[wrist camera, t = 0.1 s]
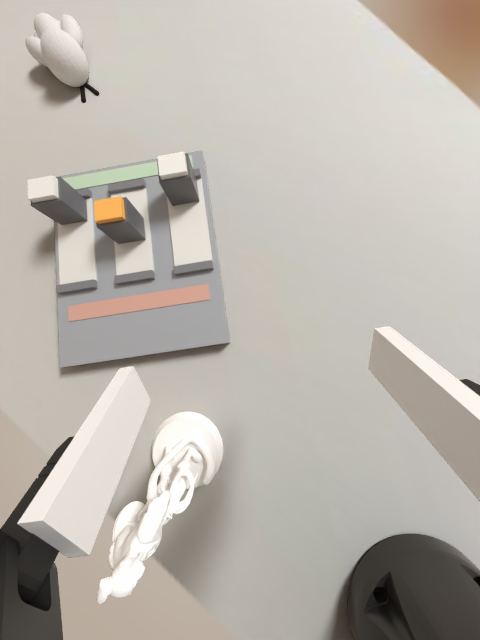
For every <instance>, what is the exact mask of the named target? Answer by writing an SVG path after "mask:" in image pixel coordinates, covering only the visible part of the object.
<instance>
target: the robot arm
mask: <svg viewBox="0 0 480 640" xmlns="http://www.w3.org/2000/svg"><path fill="white" fill-rule="evenodd" d="M368 369H369V370H370V371H371V372H372V373H373V375H374V376H375V377H376V378H377V379H378V381H379V382H380V383H381V384H382V385H383V387H384V388H385V389H386V390H387V391H388V393H389V394H390V395H391V396H392V397H393V399H394V400H395V401H396V402H397V403H398V404H399V406H400V407H401V408H402V409H403V410H404V412H405V413H406V414H407V415H408V416H409V418H410V419H411V420H412V421H413V422H414V424H415V425H416V426H417V427H418V428H419V430H420V431H421V432H422V433H423V434H424V436H425V437H426V438H427V439H428V440H429V442H430V443H431V444H432V445H433V446H434V448H435V449H436V450H437V451H438V452H439V454H440V455H441V456H442V457H443V458H444V460H445V461H446V462H447V463H448V464H449V466H450V467H451V468H452V469H453V470H454V472H455V473H456V474H457V475H458V476H459V478H460V479H461V480H462V481H463V482H464V484H465V485H466V486H467V487H468V488H469V490H470V491H471V492H472V493H473V494H474V495H475V497H476V498H477V499H478V500H479V501H480V385H478V384H476V383H474V382H472V381H470V380H468V379H464V380H458V379H457V378H455V377H454V376H453V375H452V374H450V373H449V372H448V371H446V370H445V369H444V368H443V367H441V366H440V365H439V364H437V363H436V362H435V361H434V360H432V359H431V358H430V357H428V356H427V355H426V354H425V353H423V352H422V351H421V350H419V349H418V348H417V347H416V346H414V345H413V344H412V343H410V342H409V341H408V340H406V339H405V338H404V337H403V336H401V335H400V334H399V333H397V332H396V331H395V330H394V329H392V328H391V327H390V326H387V327H381V328H375V329H374V335H373V342H372V348H371V355H370V361H369V367H368ZM150 402H151V400H150V398H149V396H148V394H147V392H146V390H145V388H144V386H143V384H142V382H141V380H140V378H139V376H138V374H137V372H136V370H135V368H134V366H131V367H124V368H120V369H119V370H118V372H117V373H116V375H115V376H114V378H113V379H112V381H111V382H110V384H109V385H108V387H107V388H106V390H105V391H104V393H103V394H102V396H101V397H100V399H99V400H98V402H97V403H96V405H95V407H94V408H93V410H92V411H91V413H90V414H89V416H88V417H87V419H86V420H85V422H84V423H83V425H82V426H81V428H80V429H79V431H78V432H77V434H76V435H75V436H74V437H69V438H68V439H67V440H66V441H65V442H64V443H63V444H62V445H61V446H60V447H59V448H58V449H57V450H56V451H55V452H54V454H53V455H52V457H51V458H50V459H49V461H48V462H47V465H46V466H45V467H44V468H43V470H42V471H41V472H40V474H39V477H38V478H36V480H35V481H34V482H33V484H32V485H31V487H30V488H29V490H28V491H27V492H26V494H25V495H24V497H23V498H22V499H21V501H20V502H19V504H18V505H17V507H16V508H15V510H14V511H13V512H12V514H11V515H10V517H9V518H8V519H7V521H6V522H5V524H4V525H3V526H2V528H1V529H0V640H63V633H62V621H61V609H60V597H59V586H58V575H57V574H58V573H57V568H56V565H55V563H54V561H55V558H56V556H57V554H58V552H60V553H62V554H63V555H65V556H66V557H68V558H72V557H80V556H87V555H90V553H91V550H92V548H93V545H94V543H95V541H96V538H97V535H98V533H99V530H100V528H101V525H102V523H103V520H104V518H105V515H106V513H107V510H108V508H109V505H110V503H111V500H112V498H113V495H114V493H115V490H116V488H117V485H118V483H119V480H120V477H121V475H122V472H123V470H124V467H125V465H126V462H127V460H128V457H129V455H130V452H131V450H132V447H133V445H134V442H135V440H136V437H137V435H138V432H139V430H140V427H141V425H142V422H143V419H144V417H145V414H146V412H147V409H148V407H149V404H150ZM348 616H349V623H350V627H351V631H352V634H353V637H354V640H480V570H479V569H478V568H477V567H476V566H475V565H474V564H473V563H472V562H471V561H470V560H469V559H468V558H467V557H466V556H464V555H463V554H462V553H461V552H460V551H458V550H457V549H456V548H454V547H453V546H451V545H449V544H447V543H446V542H443V541H441V540H439V539H436V538H433V537H430V536H426V535H420V534H403V535H398V536H394V537H391V538H388V539H386V540H384V541H382V542H380V543H378V544H377V545H375V546H374V547H373V548H372V549H370V550H369V551H368V552H367V553H366V554H365V556H364V557H363V558H362V559H361V561H360V562H359V564H358V566H357V568H356V569H355V572H354V574H353V577H352V580H351V583H350V587H349V593H348Z"/></svg>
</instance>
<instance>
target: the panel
mask: <svg viewBox="0 0 480 640" xmlns="http://www.w3.org/2000/svg"><path fill="white" fill-rule="evenodd" d="M185 154H187V153H185ZM188 155H189V158H190V161H191V164H192V167H193V170H194V173H195V176H196V179H197V186H198V193H199V201H197V202H192V203H186V204H180V205H174V206H172V204H171V203H170V201H169V199H168V197H167V196H166V194H165V192H164V190H163V188H162V187H161V185H160V183H159V175H158V166H157V159H152V160H147V161H141V162H136V163H130V164H125V165H119V166H114V167H108V168H103V169H97V170H92V171H86V172H81V173H75V174H70V175H64V176H59V177H61V178H62V179H64V180H65V181H66V182H67V183H68V184H69V185H70V186H71V187H73V188H74V189H75V190H76V191H77V192H78V193H79V194H80V195H82V196H83V197H84V198H85V199H86V202H87V220H88V221H82V222H76V223H70V224H65V225H60V224H59V223H57V222H56V221H54V225H55V253H56V282H57V285H56V289H57V310H58V338H59V366H60V368H61V367H71V366H78V365H84V364H91V363H98V362H105V361H111V360H118V359H125V358H131V357H138V356H145V355H151V354H158V353H165V352H172V351H178V350H185V349H192V348H198V347H205V346H212V345H219V344H225V343H230V337H229V330H228V323H227V316H226V309H225V301H224V294H223V287H222V280H221V273H220V266H219V259H218V251H217V244H216V237H215V230H214V223H213V216H212V208H211V201H210V194H209V187H208V180H207V173H206V166H205V160H204V156H203V152H202V151H196V152H191V153H188ZM118 196H121V197H122V198H123V197H127V199H128V200H129V201H130V202H131V203H132V205H133V206H134V207H135V208H136V209H137V211H138V212H139V213H140V214H141V215H142V217H143V218H144V227H145V237H146V240H140V241H134V242H128V243H122V244H118V243H116V242H115V241H114V240H112V239H111V238H110V237H109V236H107V235H106V234H105V233H103V232H102V231H101V230H100V229H98V228H97V227H96V221H95V211H94V201H96V200H101V199H107V198H113V197H118Z"/></svg>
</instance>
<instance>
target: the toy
mask: <svg viewBox="0 0 480 640" xmlns="http://www.w3.org/2000/svg"><path fill="white" fill-rule="evenodd" d="M34 27H35V31H36V32H35V33H34V36H28V37H27V38H26V47H27V49H28V51H29V52H30V54H31V55H32V56H33V57H34V58H35V59H36V60H37V61H38V62H39V63H41V64H42V65H44V66H47V67H48V68H49V69H50V70H51V72H52V73H53V74H54V75H55V76H56V77H57V78H58V79H59V80H60V81H62V82H63V83H65V84H67V85H69V86H72V87H80V91H81V100H82V102H84V103H85V102H86V98H85V90H84V86H85V87H86V88H88V89H89V90H90V91H92V92H93V93H94V94H96V95H97V96H98V95H99V92H98V91H97V90H95V89H94V88H93V87H91V86H90V85H89V84H87V83H86V81H87V79H88V76H89V66H88V62H87V59H86V56H85V54H84V52H83V50H82V47H83V35H82V32H81V29H80V27H79V25H78V23H77V22H76V20H75V19H74V18H73V17H72V16H70V15H63V16H62V18H61V23H60V22H59V21H58V20H56V19H54V18H53V17H52V16H50V15H48V14H46V13H39V14H37V15H36V17H35V19H34Z"/></svg>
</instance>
